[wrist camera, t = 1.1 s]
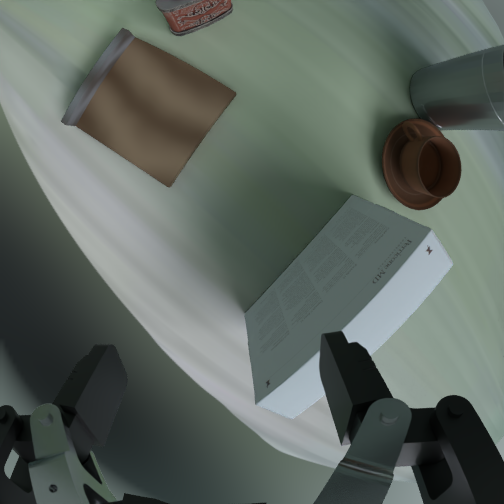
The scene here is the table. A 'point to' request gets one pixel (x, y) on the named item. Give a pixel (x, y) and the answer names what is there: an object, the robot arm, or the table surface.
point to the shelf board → (147, 106)
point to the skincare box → (339, 298)
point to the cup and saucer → (420, 164)
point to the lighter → (193, 13)
